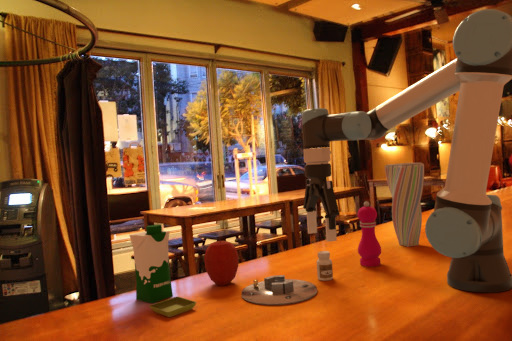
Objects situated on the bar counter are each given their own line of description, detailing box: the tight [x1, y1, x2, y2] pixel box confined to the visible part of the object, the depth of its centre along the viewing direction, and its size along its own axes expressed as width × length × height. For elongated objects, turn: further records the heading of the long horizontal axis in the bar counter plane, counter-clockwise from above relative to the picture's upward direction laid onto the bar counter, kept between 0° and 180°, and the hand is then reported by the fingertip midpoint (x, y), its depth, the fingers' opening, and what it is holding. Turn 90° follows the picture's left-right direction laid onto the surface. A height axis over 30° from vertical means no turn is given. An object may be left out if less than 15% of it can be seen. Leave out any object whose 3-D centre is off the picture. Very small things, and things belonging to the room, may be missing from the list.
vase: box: [384, 162, 425, 247], centre depth 167 cm, size 14×14×30 cm
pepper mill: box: [357, 201, 382, 268], centre depth 143 cm, size 7×7×20 cm
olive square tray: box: [148, 296, 198, 318], centre depth 112 cm, size 9×9×2 cm
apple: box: [203, 236, 239, 287], centre depth 132 cm, size 10×10×14 cm
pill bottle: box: [316, 250, 334, 282], centre depth 130 cm, size 4×4×8 cm
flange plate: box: [241, 274, 318, 306], centre depth 120 cm, size 20×20×4 cm
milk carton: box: [129, 224, 174, 305], centre depth 123 cm, size 9×9×20 cm
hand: (321, 237), depth 130 cm, fingers open, 13 cm apart
